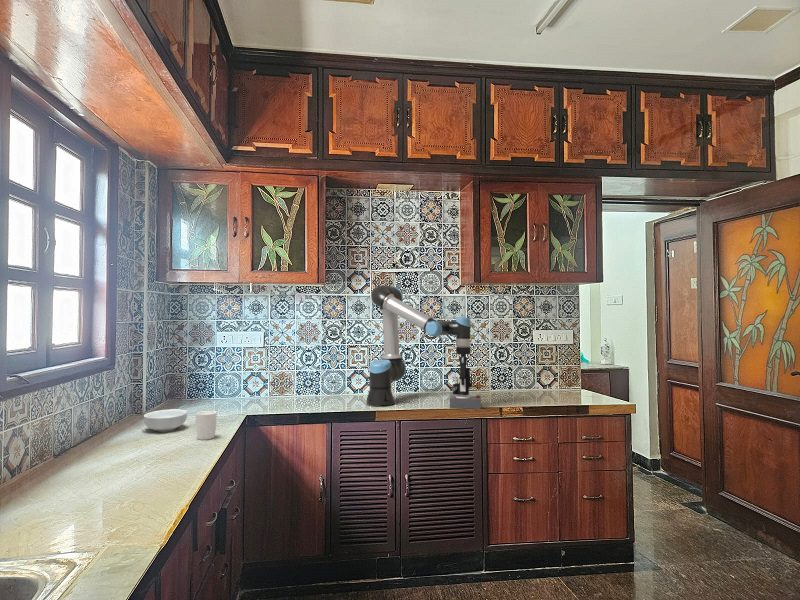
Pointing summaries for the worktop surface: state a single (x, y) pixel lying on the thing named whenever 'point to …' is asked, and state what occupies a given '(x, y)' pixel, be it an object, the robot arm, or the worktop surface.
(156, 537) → the worktop surface
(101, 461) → the worktop surface
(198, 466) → the worktop surface
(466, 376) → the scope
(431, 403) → the worktop surface
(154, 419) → the cereal bowl
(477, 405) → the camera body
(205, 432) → the white cup
